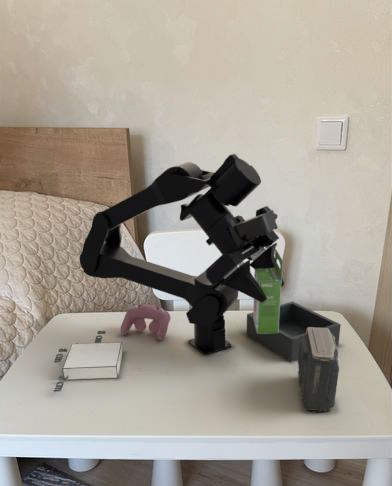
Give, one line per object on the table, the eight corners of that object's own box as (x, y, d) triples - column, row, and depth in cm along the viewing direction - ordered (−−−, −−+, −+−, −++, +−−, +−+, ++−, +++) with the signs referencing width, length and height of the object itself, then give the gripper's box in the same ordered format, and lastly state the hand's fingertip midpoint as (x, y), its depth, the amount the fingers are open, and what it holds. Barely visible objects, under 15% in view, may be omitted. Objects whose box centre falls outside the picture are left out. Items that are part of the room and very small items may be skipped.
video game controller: (170, 341, 108) (174, 307, 108) (162, 340, 104) (166, 305, 104) (127, 335, 111) (131, 302, 111) (117, 334, 107) (122, 300, 107)
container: (114, 394, 87) (113, 380, 86) (46, 397, 87) (43, 383, 86) (125, 341, 105) (124, 329, 104) (68, 343, 105) (66, 331, 104)
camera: (335, 414, 80) (342, 357, 76) (298, 412, 81) (302, 355, 77) (329, 377, 91) (334, 325, 86) (295, 375, 91) (299, 324, 87)
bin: (246, 334, 107) (246, 313, 105) (291, 321, 112) (292, 301, 110) (291, 361, 96) (292, 339, 94) (338, 345, 101) (340, 324, 99)
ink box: (251, 318, 97) (254, 249, 92) (273, 317, 98) (277, 248, 92) (256, 334, 91) (259, 261, 85) (278, 334, 91) (283, 261, 85)
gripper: (222, 204, 79) (286, 284, 78) (271, 184, 93) (325, 252, 93) (180, 247, 86) (238, 321, 86) (231, 223, 100) (281, 286, 100)
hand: (273, 293), depth 91 cm, fingers closed on ink box, 8 cm apart
